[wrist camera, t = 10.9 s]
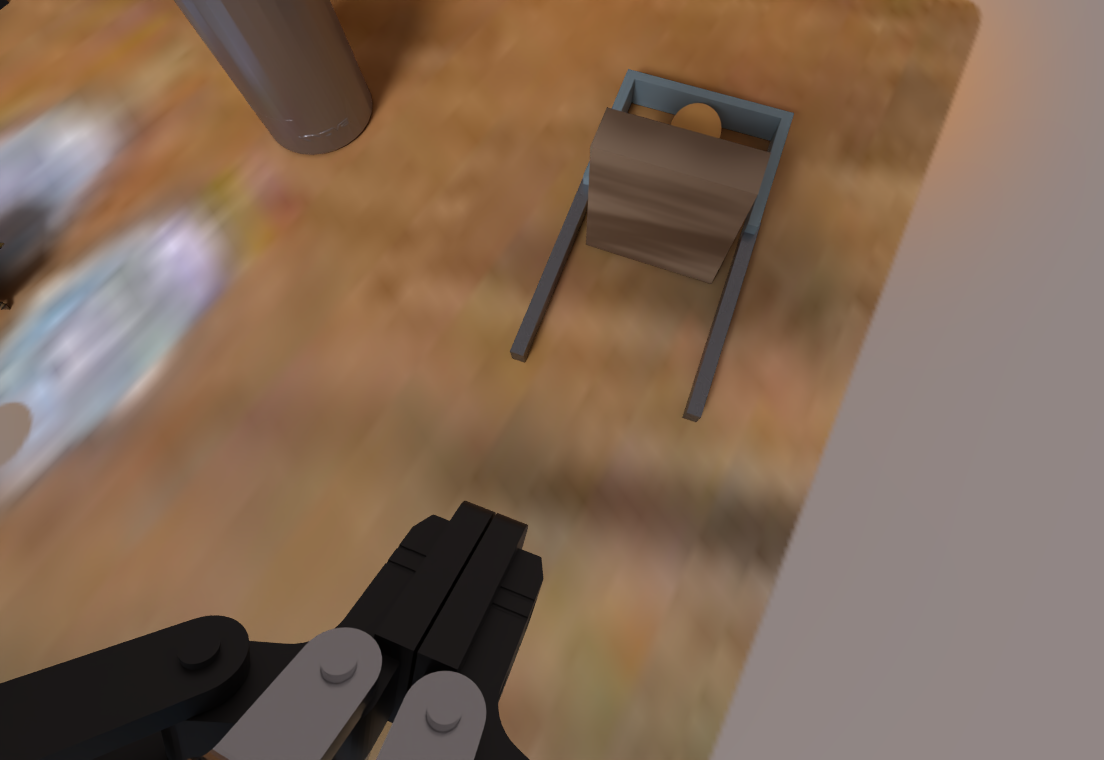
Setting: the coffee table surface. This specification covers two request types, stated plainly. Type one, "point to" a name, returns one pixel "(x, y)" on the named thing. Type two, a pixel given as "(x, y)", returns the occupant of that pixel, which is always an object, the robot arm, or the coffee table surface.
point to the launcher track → (717, 328)
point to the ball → (698, 119)
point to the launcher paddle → (668, 193)
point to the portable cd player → (3, 3)
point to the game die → (3, 305)
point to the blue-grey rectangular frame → (731, 115)
